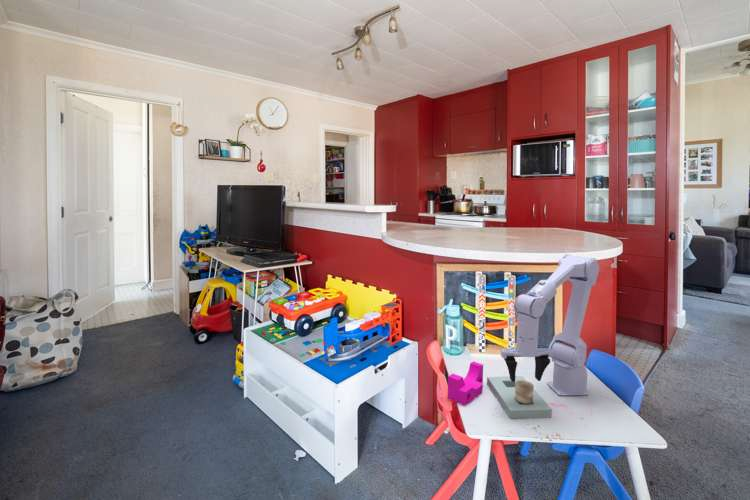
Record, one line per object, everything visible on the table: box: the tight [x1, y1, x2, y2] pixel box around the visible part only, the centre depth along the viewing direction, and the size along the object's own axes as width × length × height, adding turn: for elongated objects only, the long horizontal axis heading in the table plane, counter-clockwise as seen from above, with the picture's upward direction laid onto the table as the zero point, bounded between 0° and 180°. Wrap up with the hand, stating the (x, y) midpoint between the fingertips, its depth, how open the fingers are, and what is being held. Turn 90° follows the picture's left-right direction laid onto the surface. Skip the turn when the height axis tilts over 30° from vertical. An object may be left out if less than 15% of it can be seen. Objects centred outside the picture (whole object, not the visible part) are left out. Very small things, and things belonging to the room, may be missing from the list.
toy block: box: [447, 361, 484, 406], centre depth 122 cm, size 15×6×8 cm, turn 135°
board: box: [486, 375, 553, 420], centre depth 118 cm, size 12×20×2 cm, turn 2°
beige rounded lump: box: [515, 380, 535, 405], centre depth 113 cm, size 5×5×7 cm
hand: (525, 379), depth 112 cm, fingers open, 7 cm apart
